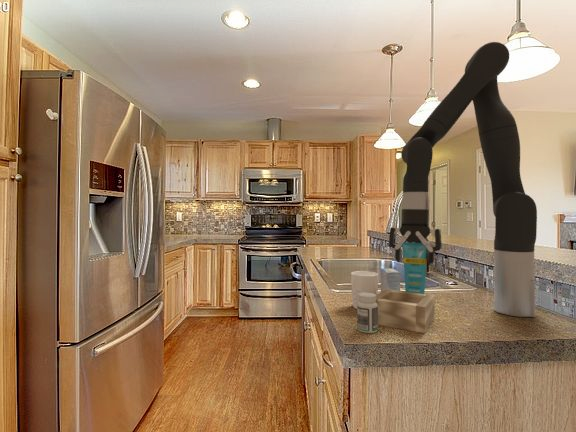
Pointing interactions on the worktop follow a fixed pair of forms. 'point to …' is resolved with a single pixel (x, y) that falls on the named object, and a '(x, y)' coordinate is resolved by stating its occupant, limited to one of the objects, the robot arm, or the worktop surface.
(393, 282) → the medicine box
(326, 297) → the worktop surface
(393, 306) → the socket holder
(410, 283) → the tube
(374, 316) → the pill bottle
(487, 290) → the worktop surface
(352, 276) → the white cup
